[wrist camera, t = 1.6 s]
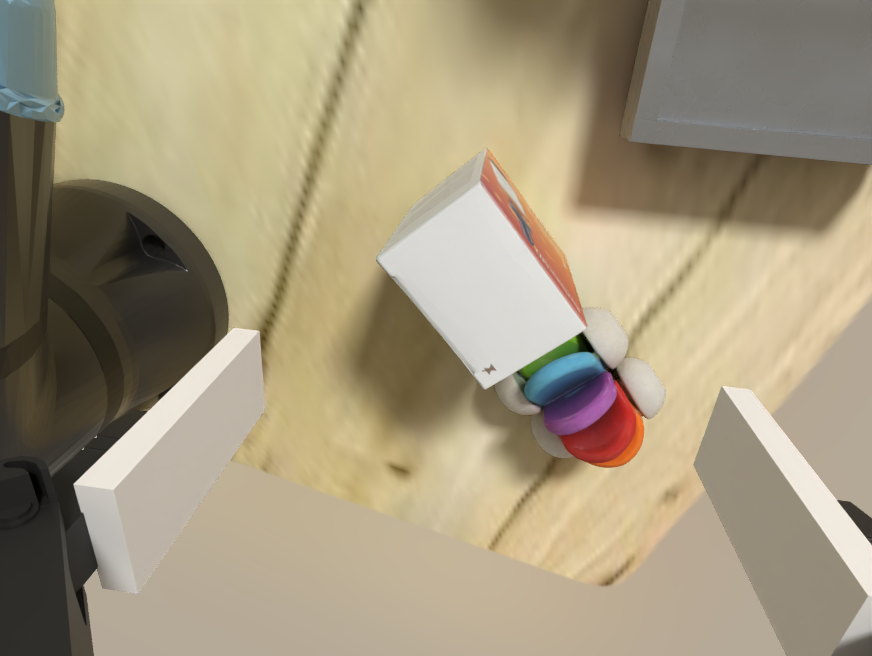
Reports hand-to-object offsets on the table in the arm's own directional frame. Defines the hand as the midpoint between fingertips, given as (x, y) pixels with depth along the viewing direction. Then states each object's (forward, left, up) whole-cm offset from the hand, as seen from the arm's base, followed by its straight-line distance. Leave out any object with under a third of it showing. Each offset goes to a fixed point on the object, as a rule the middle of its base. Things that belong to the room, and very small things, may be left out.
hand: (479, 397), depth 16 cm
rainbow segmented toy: (+7, -9, -19) cm, 22 cm away
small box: (0, 0, -18) cm, 19 cm away
